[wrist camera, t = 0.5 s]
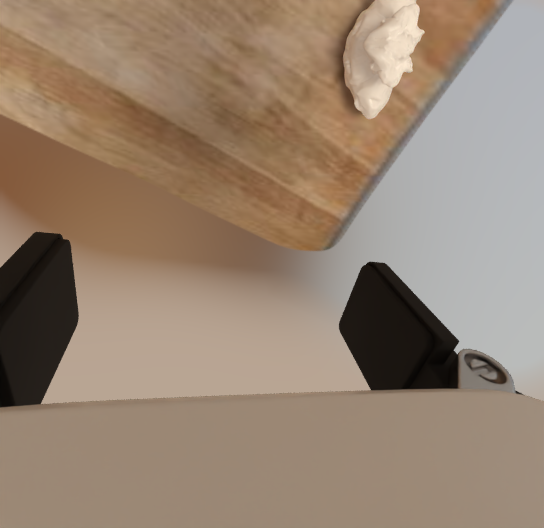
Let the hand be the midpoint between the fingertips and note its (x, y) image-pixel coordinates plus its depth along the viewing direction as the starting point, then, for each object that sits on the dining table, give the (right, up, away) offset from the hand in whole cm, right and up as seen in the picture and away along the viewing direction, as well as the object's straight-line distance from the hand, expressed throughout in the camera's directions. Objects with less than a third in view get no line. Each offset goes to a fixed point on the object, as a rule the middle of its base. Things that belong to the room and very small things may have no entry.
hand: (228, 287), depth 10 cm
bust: (+11, +24, +24) cm, 36 cm away
